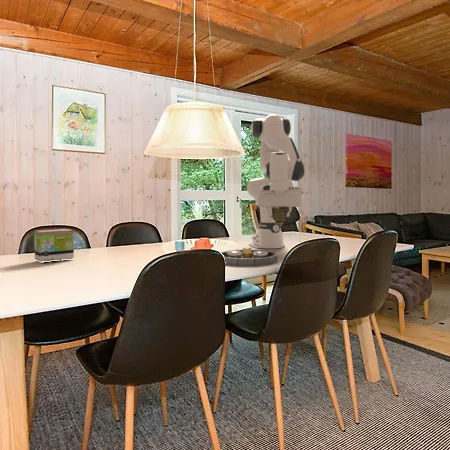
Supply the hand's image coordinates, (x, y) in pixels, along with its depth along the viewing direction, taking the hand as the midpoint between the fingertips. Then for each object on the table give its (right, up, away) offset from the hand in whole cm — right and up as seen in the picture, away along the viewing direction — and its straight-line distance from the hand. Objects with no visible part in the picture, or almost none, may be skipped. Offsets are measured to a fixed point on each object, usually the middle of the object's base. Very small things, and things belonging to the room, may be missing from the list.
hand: (279, 216), depth 182 cm
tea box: (-106, -21, +4) cm, 108 cm away
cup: (0, -4, 0) cm, 4 cm away
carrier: (-15, -20, -1) cm, 25 cm away
